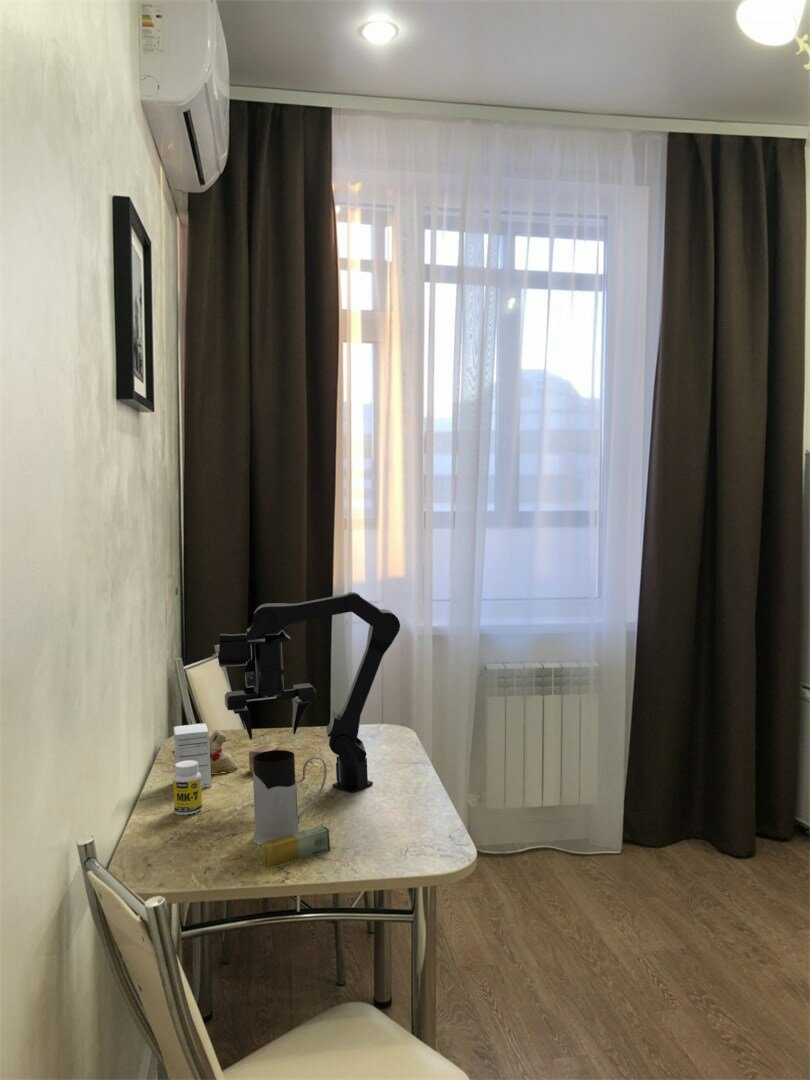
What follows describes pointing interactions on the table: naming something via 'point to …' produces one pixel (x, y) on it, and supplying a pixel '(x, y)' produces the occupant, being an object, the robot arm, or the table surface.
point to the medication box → (295, 846)
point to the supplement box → (194, 748)
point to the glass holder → (277, 794)
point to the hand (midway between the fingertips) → (272, 736)
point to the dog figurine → (220, 755)
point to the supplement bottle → (187, 788)
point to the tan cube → (256, 751)
